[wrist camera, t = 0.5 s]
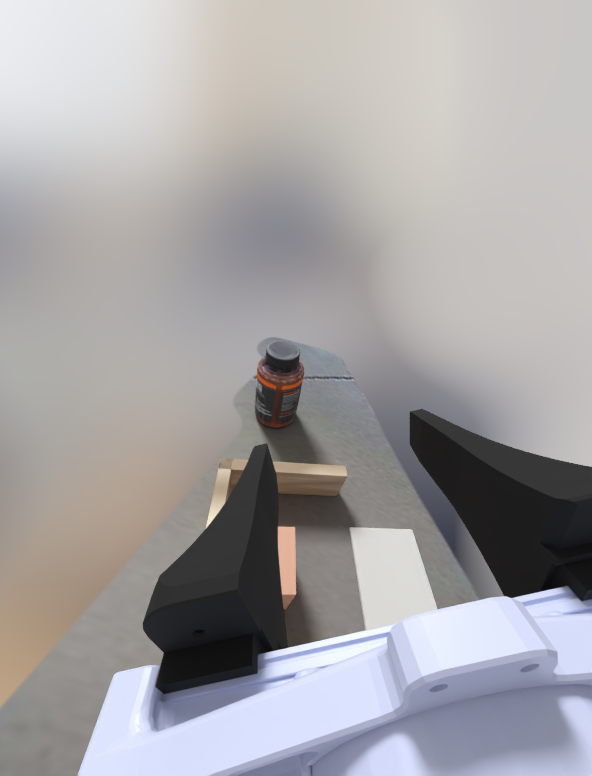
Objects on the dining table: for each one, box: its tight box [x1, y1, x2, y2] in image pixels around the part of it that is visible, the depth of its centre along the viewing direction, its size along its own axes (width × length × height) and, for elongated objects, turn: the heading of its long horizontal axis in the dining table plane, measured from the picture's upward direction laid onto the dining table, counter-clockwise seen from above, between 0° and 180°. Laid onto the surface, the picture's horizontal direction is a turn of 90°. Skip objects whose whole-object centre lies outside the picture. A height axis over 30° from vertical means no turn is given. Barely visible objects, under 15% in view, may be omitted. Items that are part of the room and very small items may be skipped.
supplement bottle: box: [255, 341, 304, 428], centre depth 35 cm, size 6×6×11 cm
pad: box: [349, 527, 438, 631], centre depth 26 cm, size 9×7×1 cm
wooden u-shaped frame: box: [206, 458, 347, 528], centre depth 23 cm, size 18×13×4 cm
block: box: [278, 527, 296, 610], centre depth 22 cm, size 4×4×6 cm
